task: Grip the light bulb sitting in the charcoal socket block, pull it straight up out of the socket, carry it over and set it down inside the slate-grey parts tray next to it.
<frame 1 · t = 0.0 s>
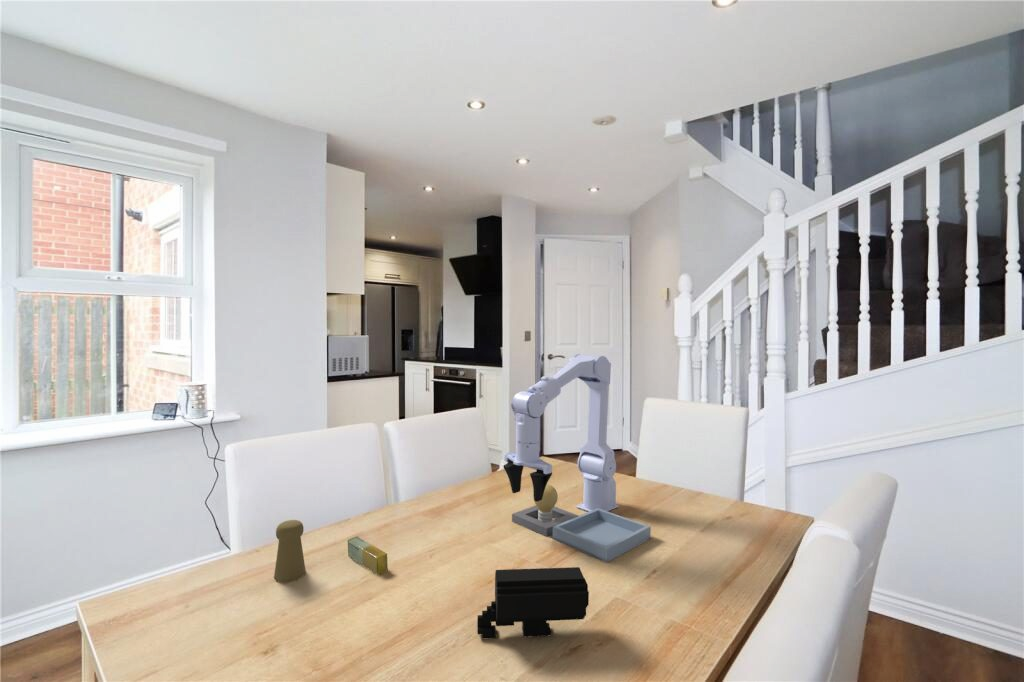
hand: (526, 496, 120), 10 cm above the table, tool pointing down, fingers open, 7 cm apart
security camera: (531, 633, 83), on the table
cork: (290, 575, 101), on the table
parts tray: (601, 538, 120), on the table
light bulb: (545, 523, 129), resting in socket block
socket block: (545, 522, 129), on the table
medication box: (367, 564, 107), on the table
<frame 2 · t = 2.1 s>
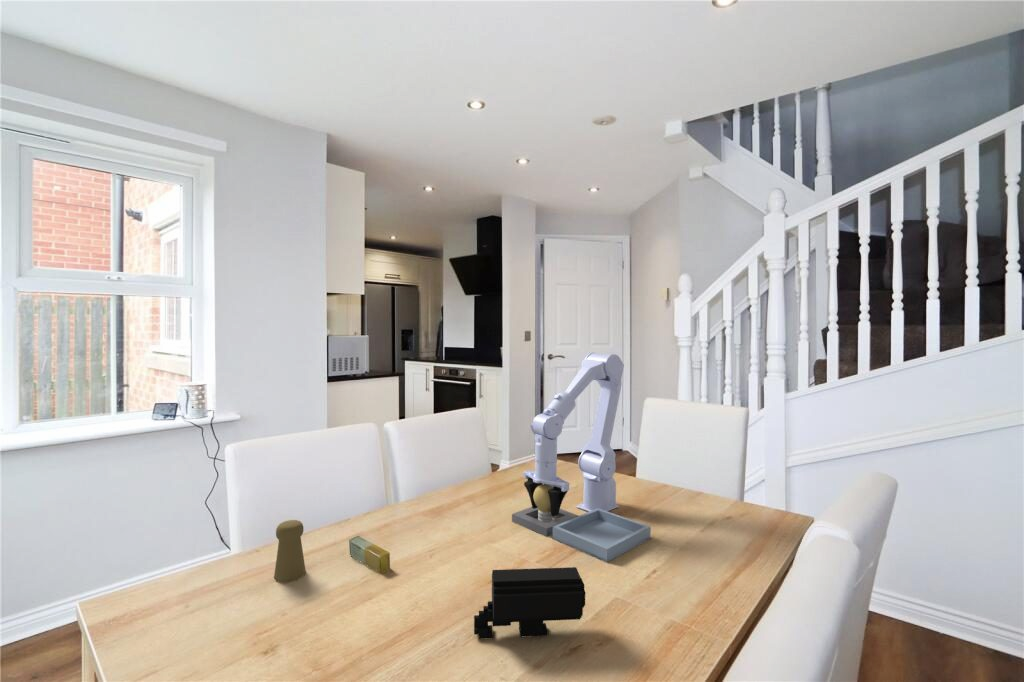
hand: (545, 511, 129), 3 cm above the table, tool pointing down, fingers closed on light bulb, 6 cm apart
light bulb: (545, 522, 129), resting in socket block, touching gripper
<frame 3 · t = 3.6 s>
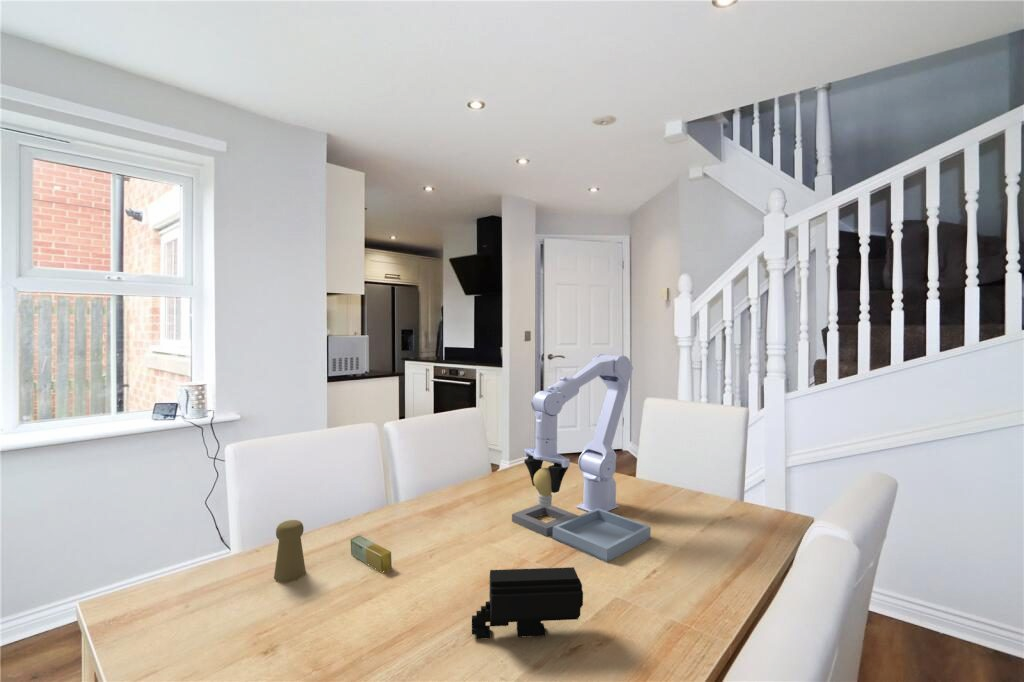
hand: (545, 488, 129), 9 cm above the table, tool pointing down, fingers closed on light bulb, 6 cm apart
light bulb: (544, 506, 129), point 4 cm above the table, touching gripper
when the fingers open (10 cm above the table, at t = 4.9 s): light bulb drops 2 cm, resting on parts tray.
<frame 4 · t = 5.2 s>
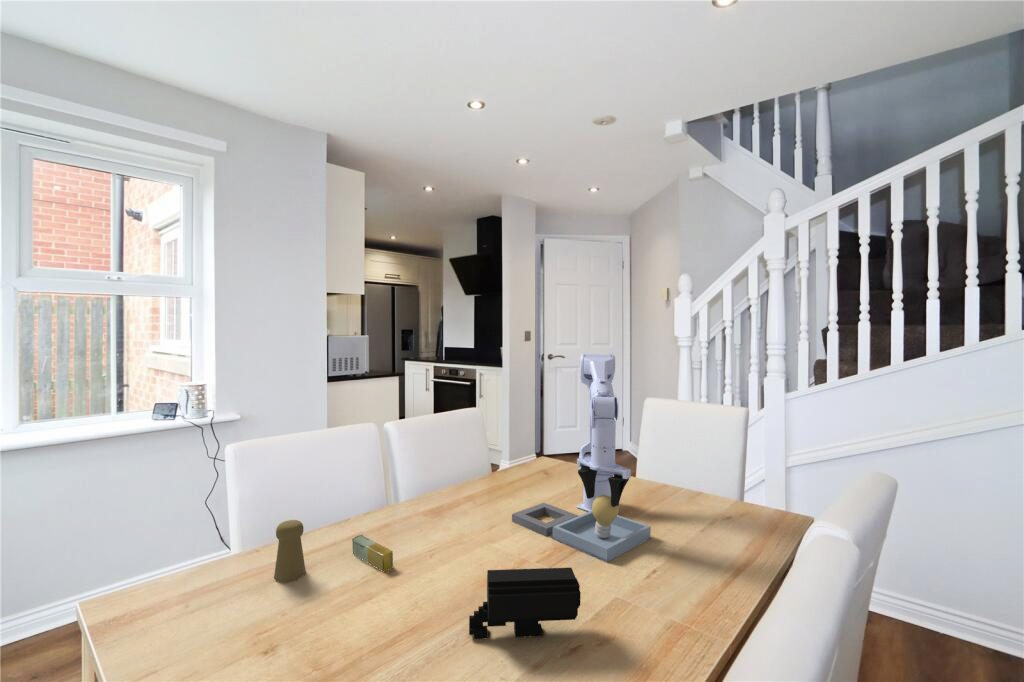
hand: (602, 501, 119), 9 cm above the table, tool pointing down, fingers open, 7 cm apart
light bulb: (601, 536, 120), point 1 cm above the table, touching gripper, parts tray
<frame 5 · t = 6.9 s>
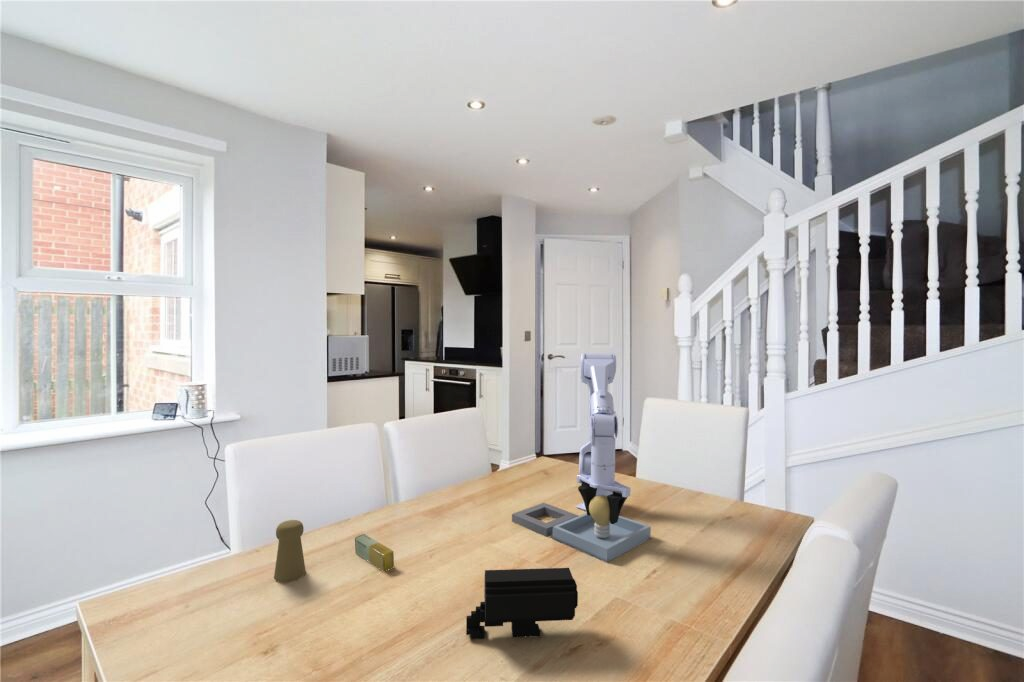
hand: (602, 518, 120), 5 cm above the table, tool pointing down, fingers closed on light bulb, 6 cm apart
light bulb: (602, 537, 120), resting on parts tray, touching gripper
when the fingers open (5 cm above the table, at t = 6.9 s): light bulb stays where it is, resting on parts tray.
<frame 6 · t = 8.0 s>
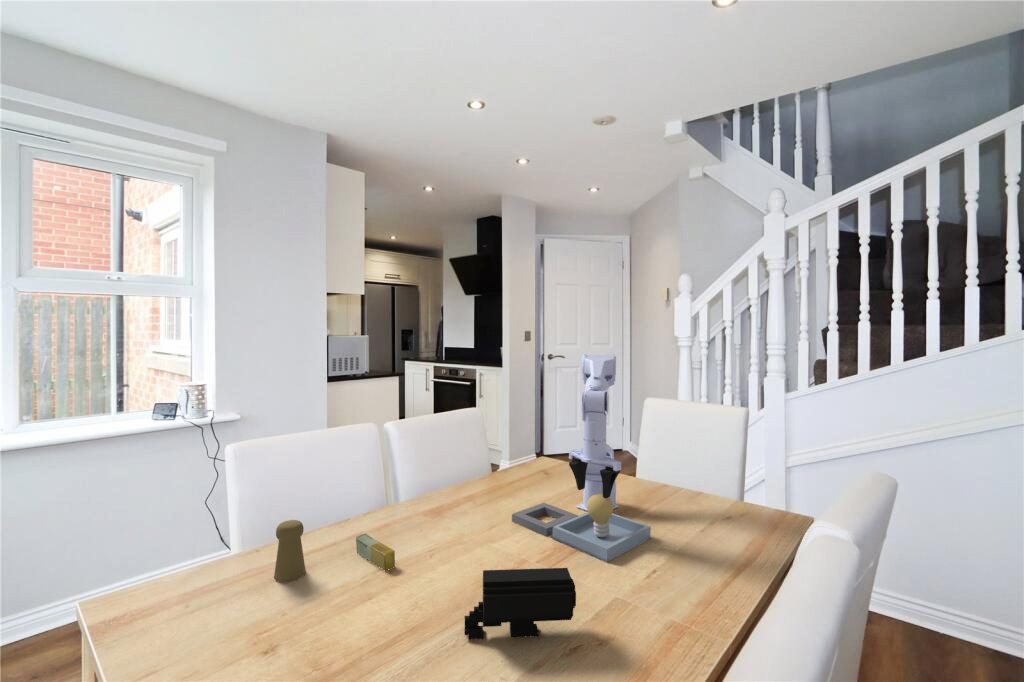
hand: (593, 493, 122), 10 cm above the table, tool pointing down, fingers open, 7 cm apart
light bulb: (602, 536, 120), point 1 cm above the table, touching gripper, parts tray
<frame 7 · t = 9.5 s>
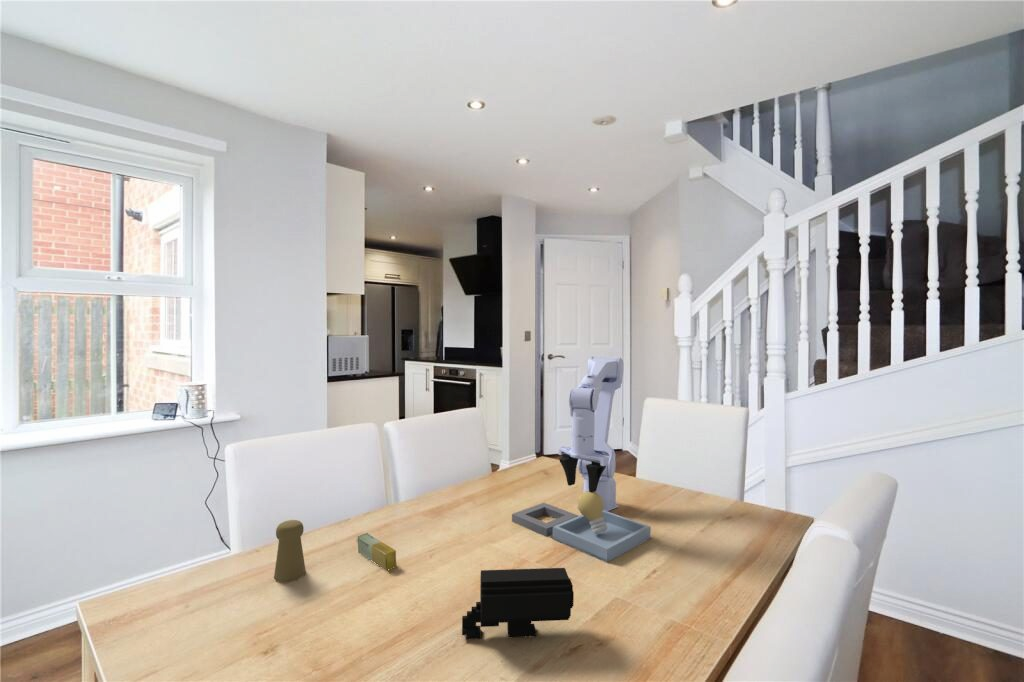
hand: (581, 488, 125), 11 cm above the table, tool pointing down, fingers open, 6 cm apart
at the end: light bulb inside the target area on the parts tray (0.1 cm from its centre), point 1.4 cm above the parts tray's base; the gripper is holding nothing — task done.
